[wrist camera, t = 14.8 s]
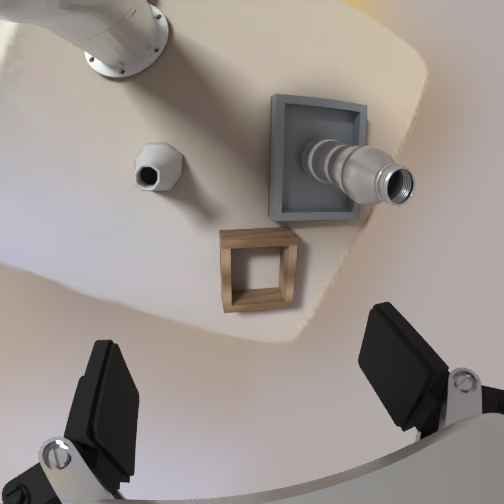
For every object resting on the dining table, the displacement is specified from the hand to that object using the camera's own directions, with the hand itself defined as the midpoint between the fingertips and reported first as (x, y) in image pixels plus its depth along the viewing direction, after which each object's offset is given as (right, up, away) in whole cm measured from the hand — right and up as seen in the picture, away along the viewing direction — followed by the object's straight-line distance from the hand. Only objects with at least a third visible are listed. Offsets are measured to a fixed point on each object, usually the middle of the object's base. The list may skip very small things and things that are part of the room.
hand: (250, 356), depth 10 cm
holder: (0, +2, +38) cm, 38 cm away
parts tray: (+10, +18, +33) cm, 38 cm away
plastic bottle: (+10, +18, +32) cm, 38 cm away
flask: (-13, +16, +29) cm, 36 cm away
